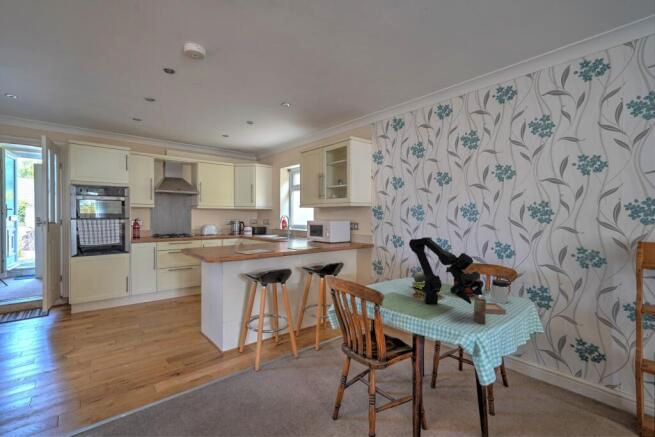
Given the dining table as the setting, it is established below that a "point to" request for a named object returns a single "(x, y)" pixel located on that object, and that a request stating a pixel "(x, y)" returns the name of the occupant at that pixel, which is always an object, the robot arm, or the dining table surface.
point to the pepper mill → (479, 309)
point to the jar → (499, 291)
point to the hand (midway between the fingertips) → (477, 302)
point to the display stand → (494, 309)
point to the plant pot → (468, 291)
